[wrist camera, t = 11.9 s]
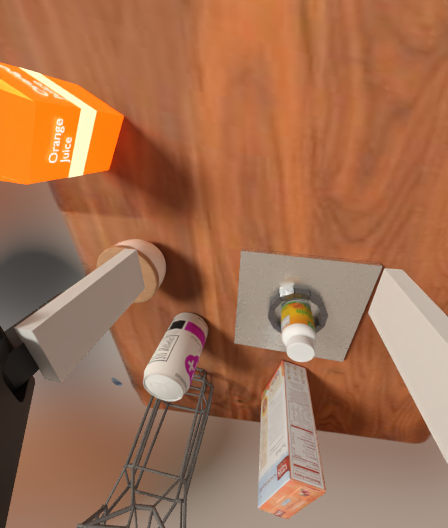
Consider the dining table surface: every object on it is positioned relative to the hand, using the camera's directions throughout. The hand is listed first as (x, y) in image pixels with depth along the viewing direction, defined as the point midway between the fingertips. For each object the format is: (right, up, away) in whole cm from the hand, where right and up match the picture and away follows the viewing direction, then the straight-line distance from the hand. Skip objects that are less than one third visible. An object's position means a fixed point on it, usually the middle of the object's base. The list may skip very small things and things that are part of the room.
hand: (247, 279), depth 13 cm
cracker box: (+13, -27, +41) cm, 51 cm away
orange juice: (-21, +21, +23) cm, 38 cm away
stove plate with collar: (+12, -7, +30) cm, 34 cm away
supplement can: (-9, -13, +38) cm, 41 cm away
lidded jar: (-16, +2, +32) cm, 36 cm away
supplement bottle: (+12, -8, +29) cm, 33 cm away
